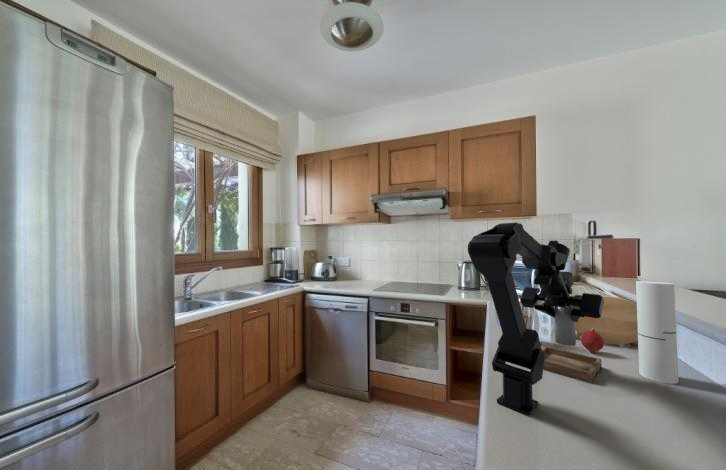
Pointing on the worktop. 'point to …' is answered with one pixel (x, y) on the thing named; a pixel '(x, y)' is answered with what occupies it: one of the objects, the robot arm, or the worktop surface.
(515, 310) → the robot arm
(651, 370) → the cylindrical container
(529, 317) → the beer glass
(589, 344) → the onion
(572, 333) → the cylinder
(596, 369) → the walnut tray
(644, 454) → the worktop surface
